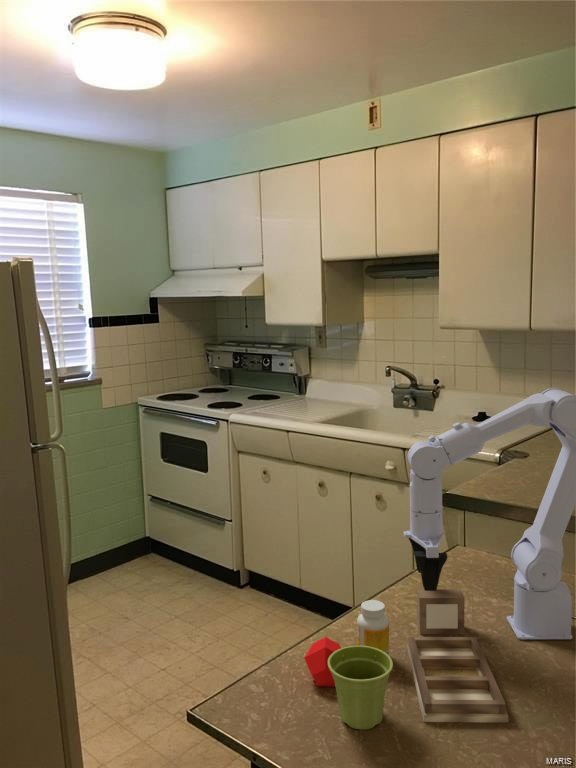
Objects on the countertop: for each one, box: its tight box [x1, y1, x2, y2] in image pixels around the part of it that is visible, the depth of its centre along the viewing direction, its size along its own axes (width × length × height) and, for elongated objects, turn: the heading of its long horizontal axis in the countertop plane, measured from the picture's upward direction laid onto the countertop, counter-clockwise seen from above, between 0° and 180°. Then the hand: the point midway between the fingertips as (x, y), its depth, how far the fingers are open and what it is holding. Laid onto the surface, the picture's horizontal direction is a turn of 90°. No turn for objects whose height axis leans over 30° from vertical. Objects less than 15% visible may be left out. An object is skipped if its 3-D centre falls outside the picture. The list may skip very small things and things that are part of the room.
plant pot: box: [328, 645, 394, 730], centre depth 96 cm, size 9×9×9 cm
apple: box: [303, 636, 342, 688], centre depth 107 cm, size 7×7×8 cm
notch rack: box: [406, 636, 509, 724], centre depth 105 cm, size 12×20×2 cm, turn 177°
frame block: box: [416, 588, 465, 635], centre depth 121 cm, size 8×4×7 cm, turn 87°
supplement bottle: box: [356, 599, 390, 656], centre depth 112 cm, size 5×5×10 cm
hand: (426, 580), depth 121 cm, fingers open, 7 cm apart
